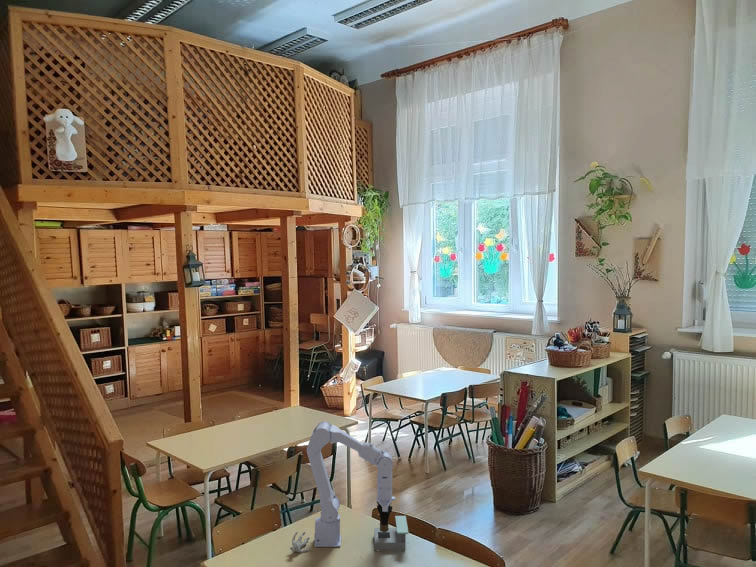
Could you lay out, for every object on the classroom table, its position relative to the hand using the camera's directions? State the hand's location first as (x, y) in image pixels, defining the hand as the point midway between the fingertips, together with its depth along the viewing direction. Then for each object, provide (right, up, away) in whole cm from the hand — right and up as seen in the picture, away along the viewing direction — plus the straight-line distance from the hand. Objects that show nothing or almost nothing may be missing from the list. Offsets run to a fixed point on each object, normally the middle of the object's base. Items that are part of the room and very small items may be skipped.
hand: (384, 522), depth 203 cm
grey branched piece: (-31, -8, -4) cm, 32 cm away
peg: (0, -3, 0) cm, 3 cm away
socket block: (+2, -8, 0) cm, 8 cm away
